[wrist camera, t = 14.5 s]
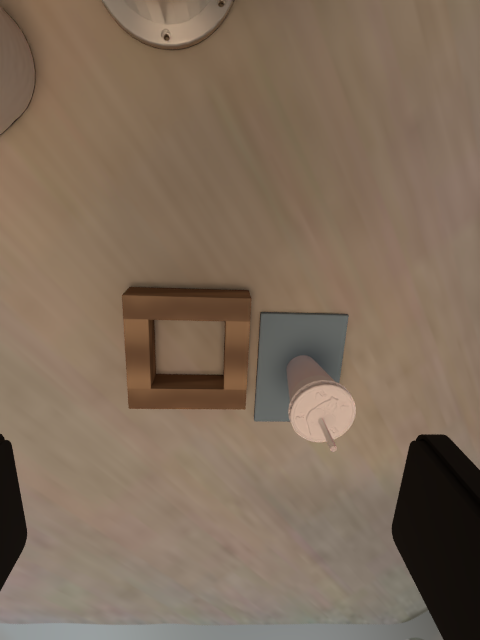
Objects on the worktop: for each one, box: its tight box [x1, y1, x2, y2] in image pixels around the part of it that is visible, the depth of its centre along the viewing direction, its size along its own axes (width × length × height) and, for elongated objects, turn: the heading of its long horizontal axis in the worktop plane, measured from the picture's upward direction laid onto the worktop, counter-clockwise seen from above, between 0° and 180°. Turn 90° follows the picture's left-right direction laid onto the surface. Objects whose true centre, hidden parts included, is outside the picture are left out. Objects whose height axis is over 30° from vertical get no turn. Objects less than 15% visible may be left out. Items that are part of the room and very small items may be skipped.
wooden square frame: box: [122, 287, 251, 409], centre depth 42 cm, size 13×13×4 cm
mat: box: [254, 312, 348, 422], centre depth 45 cm, size 14×10×1 cm
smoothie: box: [286, 355, 356, 452], centre depth 38 cm, size 6×6×14 cm
